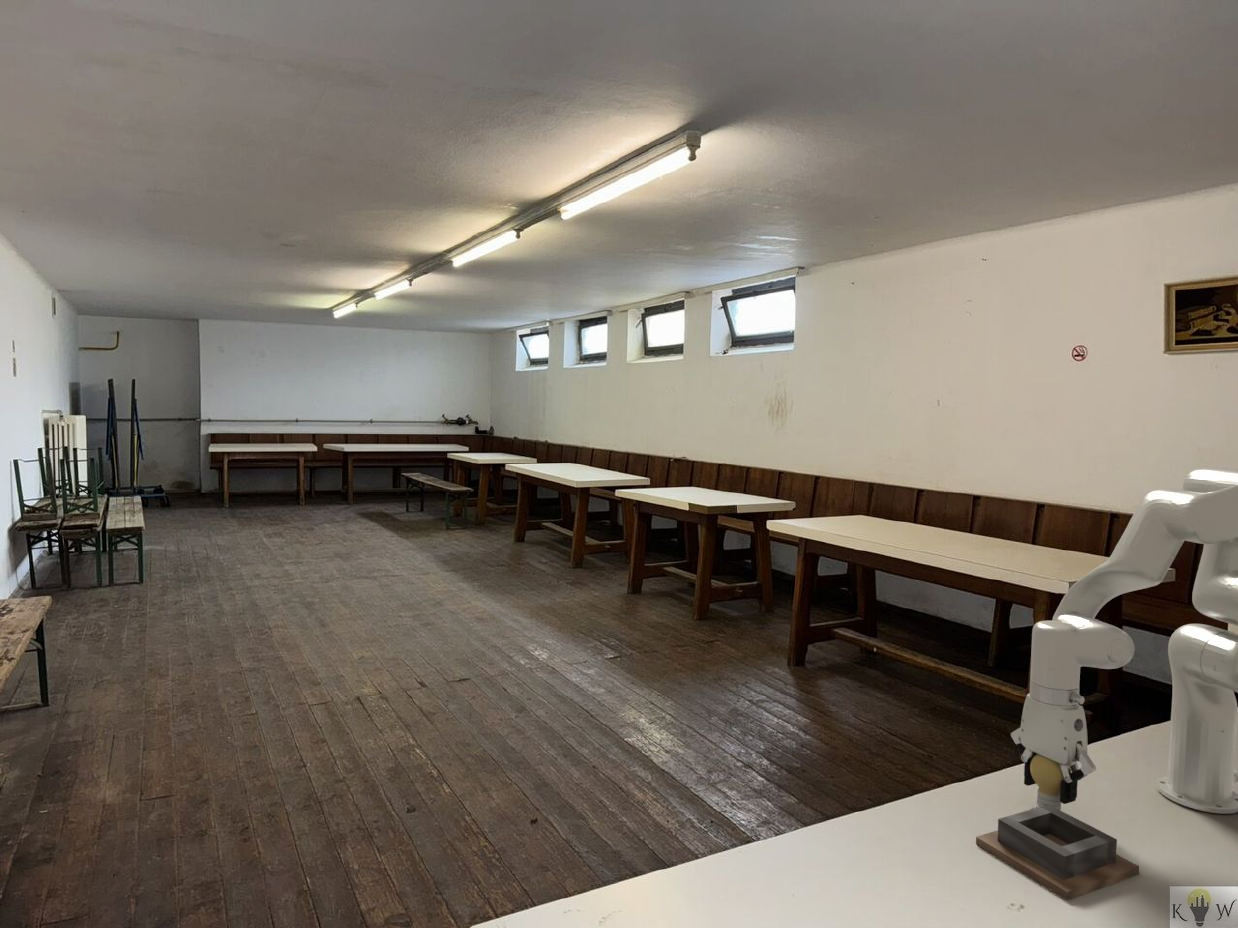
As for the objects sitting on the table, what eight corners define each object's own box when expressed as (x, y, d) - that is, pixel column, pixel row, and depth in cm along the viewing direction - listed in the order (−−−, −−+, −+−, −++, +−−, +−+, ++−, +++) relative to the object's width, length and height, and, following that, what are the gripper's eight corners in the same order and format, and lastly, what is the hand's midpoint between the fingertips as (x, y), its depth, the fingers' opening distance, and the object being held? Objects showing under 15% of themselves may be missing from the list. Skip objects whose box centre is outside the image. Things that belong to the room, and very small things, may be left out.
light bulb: (1075, 820, 135) (1078, 763, 134) (1034, 816, 136) (1037, 760, 136) (1062, 801, 141) (1064, 747, 141) (1023, 798, 143) (1026, 744, 142)
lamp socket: (1044, 822, 134) (1045, 795, 134) (1139, 873, 120) (1140, 843, 119) (975, 843, 128) (977, 815, 127) (1067, 899, 113) (1068, 867, 113)
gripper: (1116, 707, 131) (1111, 811, 132) (1025, 674, 147) (1021, 768, 148) (1086, 713, 128) (1081, 820, 129) (996, 680, 144) (992, 775, 145)
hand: (1049, 791), depth 139 cm, fingers closed on light bulb, 6 cm apart
